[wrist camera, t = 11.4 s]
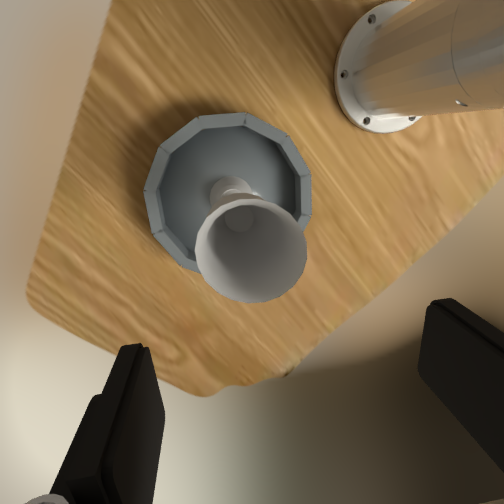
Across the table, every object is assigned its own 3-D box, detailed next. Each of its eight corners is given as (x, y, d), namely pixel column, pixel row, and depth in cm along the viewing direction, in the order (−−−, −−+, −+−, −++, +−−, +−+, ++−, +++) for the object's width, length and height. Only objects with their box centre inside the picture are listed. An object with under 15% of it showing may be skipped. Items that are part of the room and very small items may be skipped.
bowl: (300, 109, 34) (310, 106, 31) (303, 257, 41) (312, 268, 38) (136, 122, 33) (128, 121, 29) (167, 275, 39) (163, 287, 36)
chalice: (188, 200, 35) (170, 259, 19) (226, 153, 34) (244, 172, 17) (236, 238, 38) (259, 321, 21) (273, 196, 36) (329, 249, 20)
